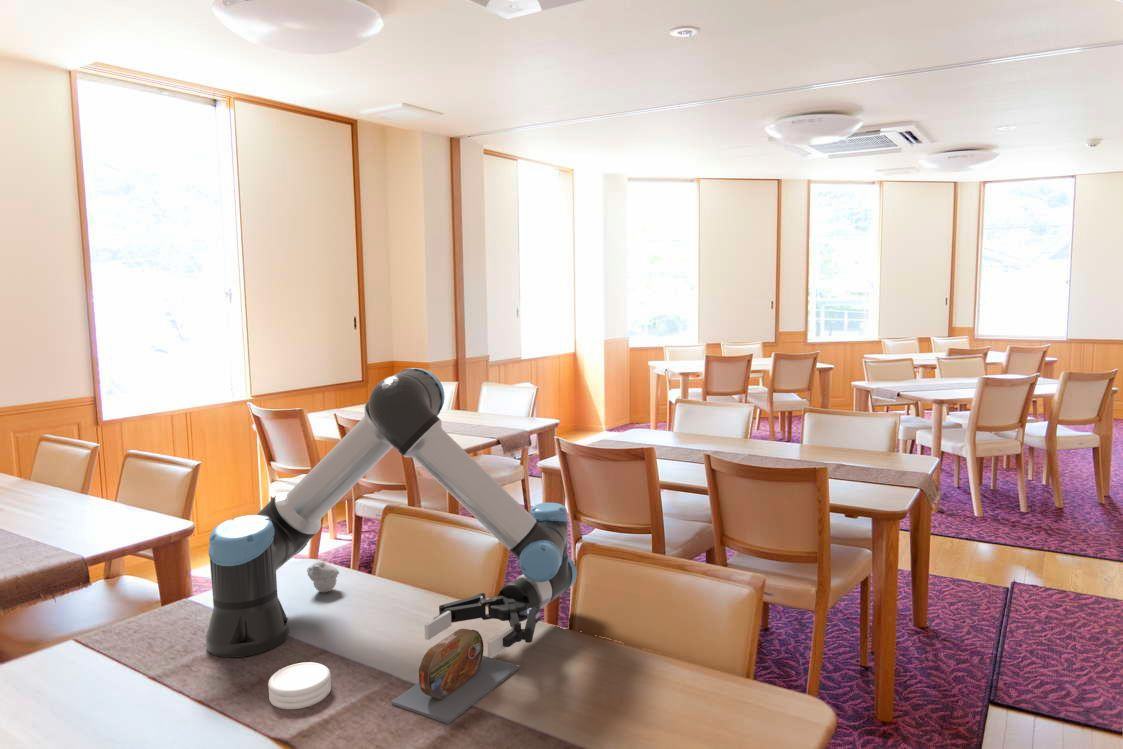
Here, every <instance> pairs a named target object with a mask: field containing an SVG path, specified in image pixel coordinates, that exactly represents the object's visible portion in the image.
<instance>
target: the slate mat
mask: <svg viewBox="0 0 1123 749" xmlns="http://www.w3.org/2000/svg"><path fill="white" fill-rule="evenodd" d="M517 670H519V665H518V664H513V663H511V662H507V661H504V660H500V659H497V658H494V657H492V658H490V657H488V656H486V655H483V657H482V661H481V664H480V667H479V669H478V671H477V672H476V674H475V675H474V676H473V677H472V678H470V679H469V680H468V681H466V682H465V683H464V684H462V685H461V686H460V687H458V688H457V689H456V690H455V691H453V692H452V693H451V694H449V695H448V696H447V697H445V698H443V699H436V698H435V697H431V696H428V695H426V694H424V693H423V692H422V690H421V688H420V683H419V682H417V683H416V684H414V685H413V686H411V687H410V688H408V689H406V690H405V691H404V692H402V693H401V694H400V695H399V696H397V697H395V698H394V699H393V700H391V705H392V706H396V707H398V708H401V709H404V710H408V711H410V712H412V713H416V714H419V715H422V716H424V717H427V718H431V719H433V720H436V721H439V722H441V723H445V724H448V725H450V724H451V723H452V722H453V721H454V720H456V719H457V718H458V717H460V716H461V715H462V714H463V713H465V712H466V711H467V710H468V709H470V708H471V707H472V706H473V705H475V704H476V703H477V702H478V701H479V700H481V699H483V697H485V696H486V695H487V694H488V693H490V692H491V691H493V689H495V688H496V687H497V686H498V685H500V684H501V683H502V682H503V681H505V680H506V679H507V678H509V677H510V676H511V675H512V674H513V673H515V672H516V671H517Z"/></svg>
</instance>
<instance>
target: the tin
mask: <svg viewBox="0 0 1123 749" xmlns="http://www.w3.org/2000/svg"><path fill="white" fill-rule="evenodd" d="M483 656H484V641H483V637H482V635H481V633H480V632H479V631H478V630H476V629H468V628H460V629H458V630H456V631H454V632H453V633H451V634H449V635H448V636H447V637H445V638H444V639H442V640H441V641H439V642H438V643H436V644H434V645H433V646H432V647H430V648H429V649H428V650H426V652H425V653H424V655H423V656H422V659H421V662H420V665H419V668H418V681H419V682H418V683H420V688H421V690H422V692H423V693H424V694H426V695H428V696H431V697H435V698H436V699H443V698H445V697H447V696H448V695H449V694H451V693H452V692H453V691H455V690H456V689H457V688H458V687H460V686H461V685H462V684H464V683H465V682H466V681H468V680H469V679H470V678H472V677H473V676H474V675H475V674H476V672H477V671H478V669H479V667H480V664H481V661H482V657H483Z"/></svg>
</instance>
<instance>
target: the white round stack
mask: <svg viewBox="0 0 1123 749" xmlns="http://www.w3.org/2000/svg"><path fill="white" fill-rule="evenodd" d="M331 680H332V679H331V671H330V669H329V668H328V666H325V665H324V664H322V663H318V662H310V661H309V662H305V661H304V662H299V663H293V664H291V665H287V666H284V667H283V668H280V669H278V670H277V671H276V672H275V673H273V674H272V675H271V676H270V678H269V680H268V683H267V687H268V694H269V695H268V699H269V702H270V704H271V705H272V706H274V707H276V708H278V709H282V710H299V709H300V710H301V709H304V708H308V707H311V706H314V705H316V704H318V703H321V701H323V700H324V699H325V698H327V696H328V695H329V694H330V692H331V690H332V684H331V683H332V682H331Z"/></svg>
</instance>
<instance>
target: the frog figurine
mask: <svg viewBox="0 0 1123 749" xmlns="http://www.w3.org/2000/svg"><path fill="white" fill-rule="evenodd" d="M306 572H307V576H308V577H309V579H310V580H311V582H312V583H313V587H314V588H315V589H316V590H317V592H319V593H329V592H330V591H332V590H333V589H334V588H335V587H336V585H337V578H338V575H339V574H340V572H339V570H338V568H336V567H334V566H333V565H331V564H329V563H326V562H325V561H321V560H317V561H316V562H314V563H313V564H312V565H310V566H309V567H307V568H306ZM328 591H329V592H328Z"/></svg>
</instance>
